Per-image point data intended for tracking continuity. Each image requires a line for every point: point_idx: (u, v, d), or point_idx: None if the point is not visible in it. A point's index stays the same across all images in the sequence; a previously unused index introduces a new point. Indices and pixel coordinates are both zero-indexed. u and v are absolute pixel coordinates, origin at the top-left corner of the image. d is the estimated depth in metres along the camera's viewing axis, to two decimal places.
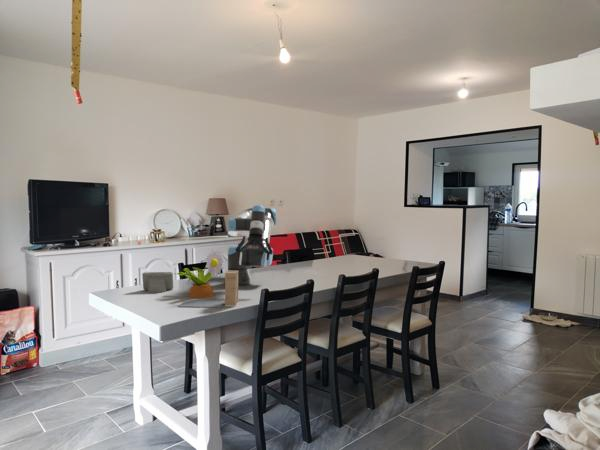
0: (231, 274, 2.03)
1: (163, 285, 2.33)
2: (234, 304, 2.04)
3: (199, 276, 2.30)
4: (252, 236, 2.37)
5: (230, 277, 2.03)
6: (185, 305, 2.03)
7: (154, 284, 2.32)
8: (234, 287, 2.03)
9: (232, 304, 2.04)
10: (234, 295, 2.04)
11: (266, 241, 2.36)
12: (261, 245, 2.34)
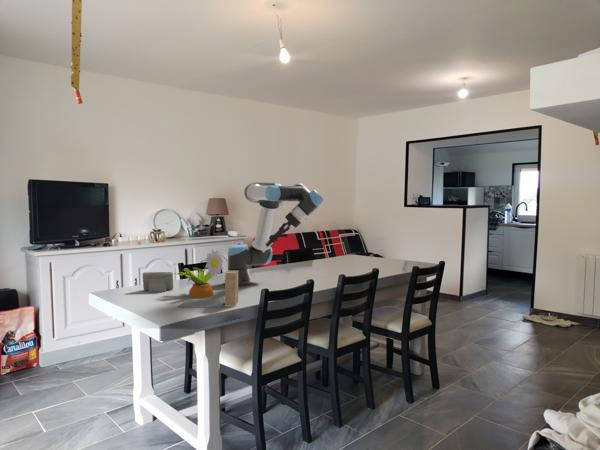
0: (231, 274, 2.03)
1: (163, 285, 2.33)
2: (234, 304, 2.04)
3: (199, 276, 2.30)
4: (290, 225, 2.03)
5: (230, 277, 2.03)
6: (185, 305, 2.03)
7: (154, 284, 2.32)
8: (234, 287, 2.03)
9: (232, 304, 2.04)
10: (234, 295, 2.04)
11: None
12: None
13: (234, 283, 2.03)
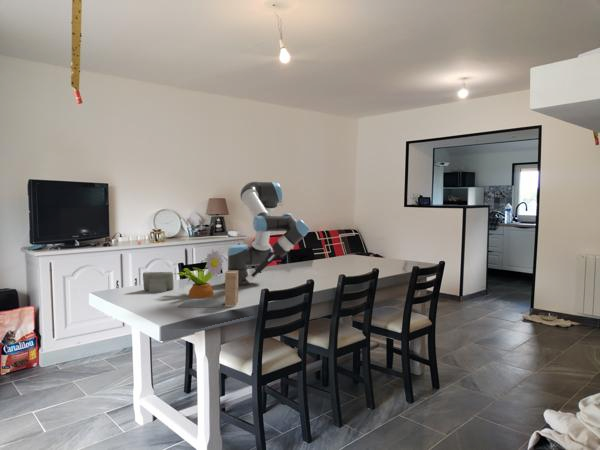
0: (231, 274, 2.03)
1: (163, 285, 2.33)
2: (234, 304, 2.04)
3: (199, 276, 2.30)
4: (277, 254, 2.03)
5: (230, 277, 2.03)
6: (185, 305, 2.03)
7: (154, 284, 2.32)
8: (234, 287, 2.03)
9: (232, 304, 2.04)
10: (234, 295, 2.04)
11: None
12: None
13: (234, 283, 2.03)
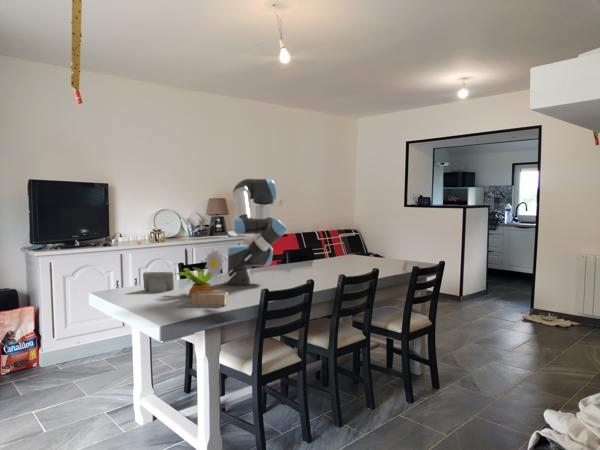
0: (193, 298, 2.04)
1: (163, 285, 2.33)
2: (223, 296, 2.04)
3: (199, 276, 2.30)
4: (254, 254, 2.03)
5: (196, 299, 2.04)
6: (185, 305, 2.03)
7: (154, 284, 2.32)
8: (206, 295, 2.04)
9: (223, 297, 2.04)
10: (214, 295, 2.04)
11: None
12: None
13: (202, 295, 2.04)
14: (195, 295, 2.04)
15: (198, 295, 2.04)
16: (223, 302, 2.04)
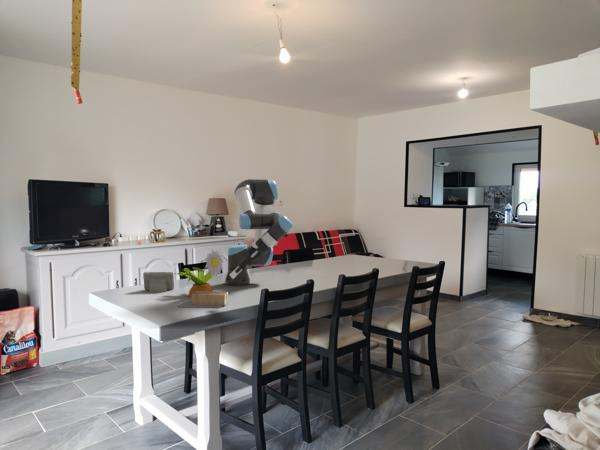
0: (193, 298, 2.04)
1: (164, 285, 2.33)
2: (223, 296, 2.04)
3: (199, 276, 2.30)
4: (261, 250, 2.02)
5: (196, 299, 2.04)
6: (185, 305, 2.03)
7: (155, 284, 2.33)
8: (206, 295, 2.04)
9: (223, 297, 2.04)
10: (214, 295, 2.04)
11: (255, 256, 2.10)
12: None
13: (202, 295, 2.04)
14: (195, 295, 2.04)
15: (198, 295, 2.04)
16: (223, 302, 2.04)
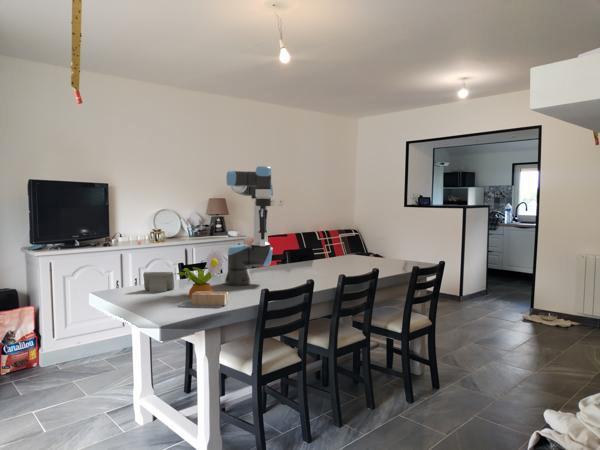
0: (193, 298, 2.04)
1: (164, 285, 2.33)
2: (223, 296, 2.04)
3: (199, 276, 2.30)
4: (264, 206, 2.08)
5: (196, 299, 2.04)
6: (185, 305, 2.03)
7: (155, 284, 2.33)
8: (206, 295, 2.04)
9: (223, 297, 2.04)
10: (214, 295, 2.04)
11: None
12: (265, 220, 2.12)
13: (202, 295, 2.04)
14: (195, 295, 2.04)
15: (198, 295, 2.04)
16: (223, 302, 2.04)
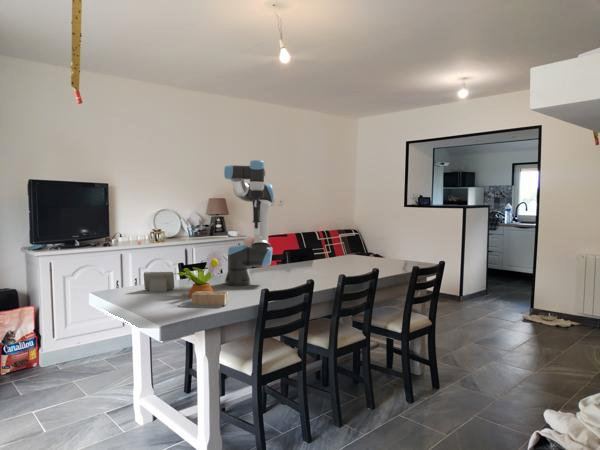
0: (193, 298, 2.04)
1: (164, 285, 2.33)
2: (223, 296, 2.04)
3: (199, 276, 2.30)
4: (258, 197, 2.24)
5: (196, 299, 2.04)
6: (185, 305, 2.03)
7: (155, 284, 2.33)
8: (206, 295, 2.04)
9: (223, 297, 2.04)
10: (214, 295, 2.04)
11: None
12: None
13: (202, 295, 2.04)
14: (195, 295, 2.04)
15: (198, 295, 2.04)
16: (223, 302, 2.04)
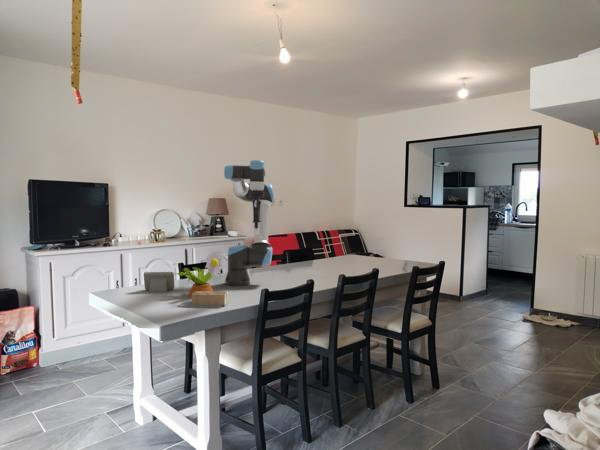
0: (193, 298, 2.04)
1: (164, 285, 2.33)
2: (223, 296, 2.04)
3: (199, 276, 2.30)
4: (258, 197, 2.24)
5: (196, 299, 2.04)
6: (185, 305, 2.03)
7: (155, 284, 2.33)
8: (206, 295, 2.04)
9: (223, 297, 2.04)
10: (214, 295, 2.04)
11: None
12: None
13: (202, 295, 2.04)
14: (195, 295, 2.04)
15: (198, 295, 2.04)
16: (223, 302, 2.04)
